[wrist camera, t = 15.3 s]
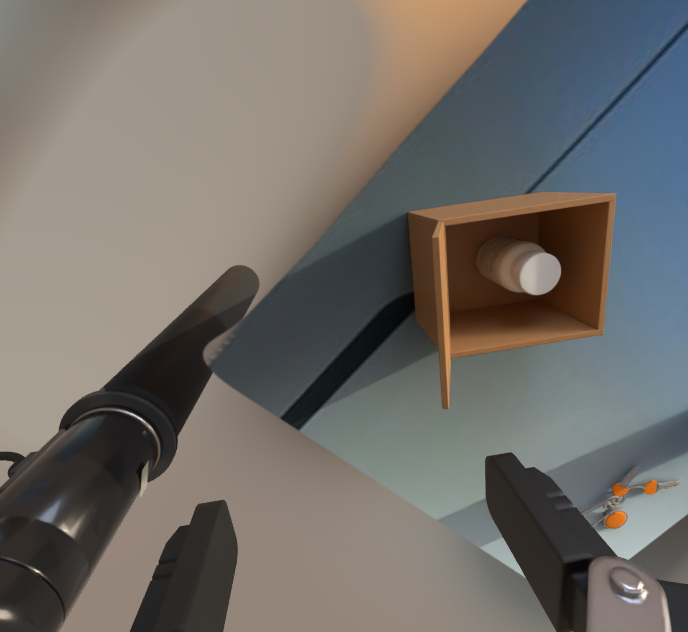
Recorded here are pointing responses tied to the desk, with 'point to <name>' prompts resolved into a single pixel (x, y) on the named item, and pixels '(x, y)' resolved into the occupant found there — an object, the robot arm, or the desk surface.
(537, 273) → the pill bottle
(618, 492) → the key chain
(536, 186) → the desk surface
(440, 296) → the bin flap
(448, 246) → the carton
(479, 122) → the desk surface
